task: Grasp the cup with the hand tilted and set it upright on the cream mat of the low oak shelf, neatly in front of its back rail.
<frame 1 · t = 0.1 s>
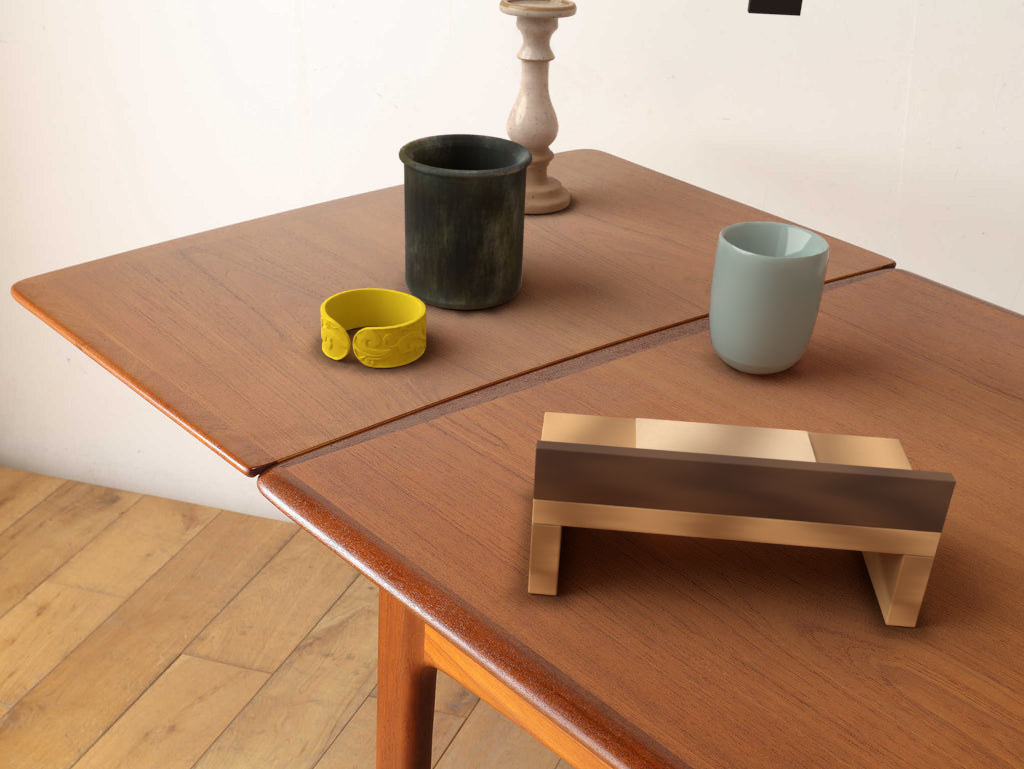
candle holder: (528, 203, 112), on the table
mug: (463, 283, 93), on the table
bracelet: (374, 348, 81), on the table
cup: (753, 365, 80), on the table
shelf: (712, 557, 59), on the table
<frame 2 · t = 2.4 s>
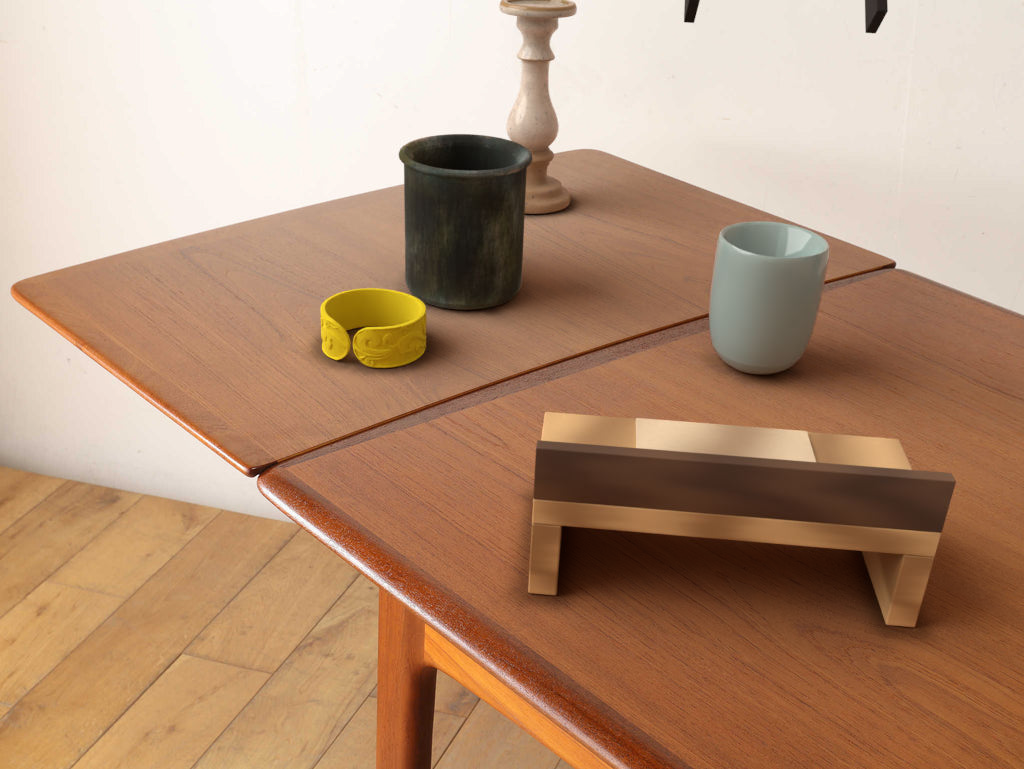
hand: (783, 17, 78), 24 cm above the table, tool tilted 45°, fingers open, 13 cm apart
nothing on the table moved.
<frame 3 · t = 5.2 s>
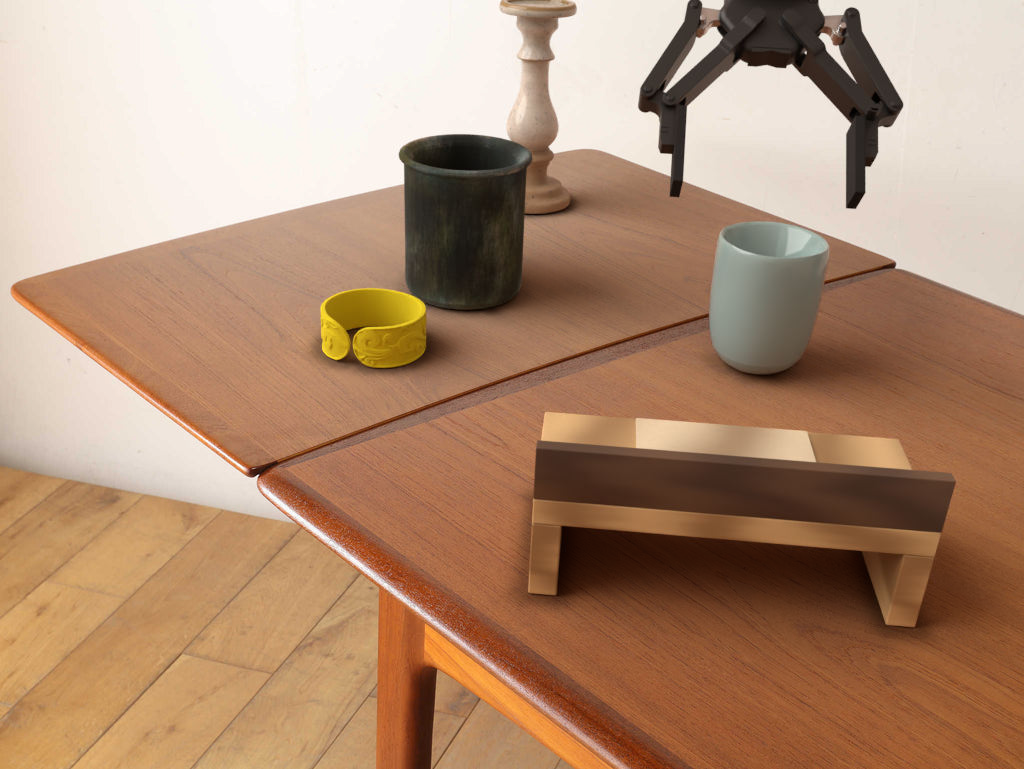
hand: (765, 195, 81), 11 cm above the table, tool tilted 45°, fingers open, 13 cm apart
nothing on the table moved.
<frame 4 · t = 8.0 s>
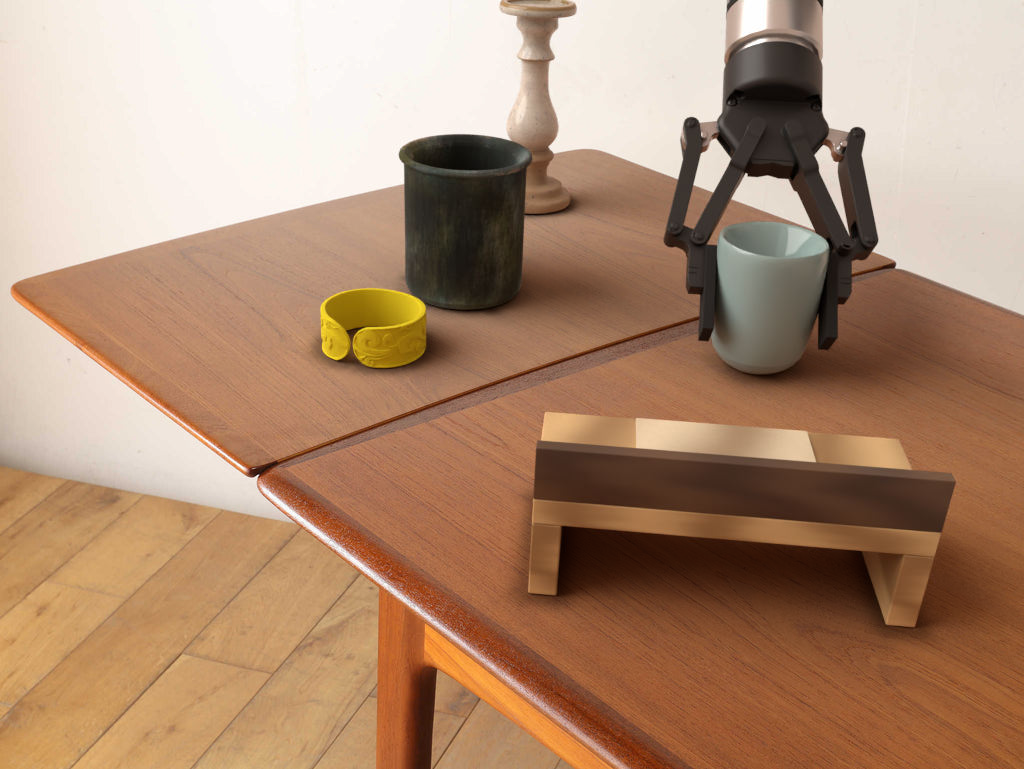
hand: (766, 339, 76), 4 cm above the table, tool tilted 45°, fingers closed on cup, 8 cm apart
cup: (753, 364, 80), on the table, touching gripper
everything else where it was.
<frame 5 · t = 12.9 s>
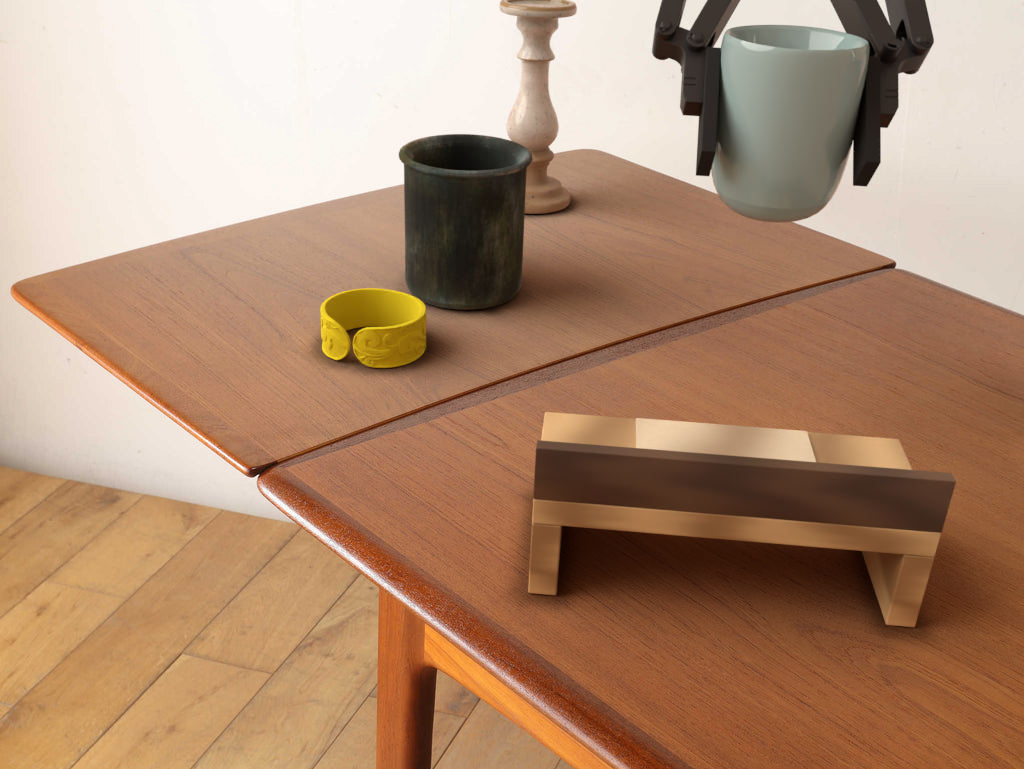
hand: (785, 168, 57), 20 cm above the table, tool tilted 45°, fingers closed on cup, 8 cm apart
cup: (768, 215, 62), point 16 cm above the table, touching gripper
everything else where it was.
when the fingers open (10 cm above the table, at t = 17.6 s): cup stays where it is, resting on shelf.
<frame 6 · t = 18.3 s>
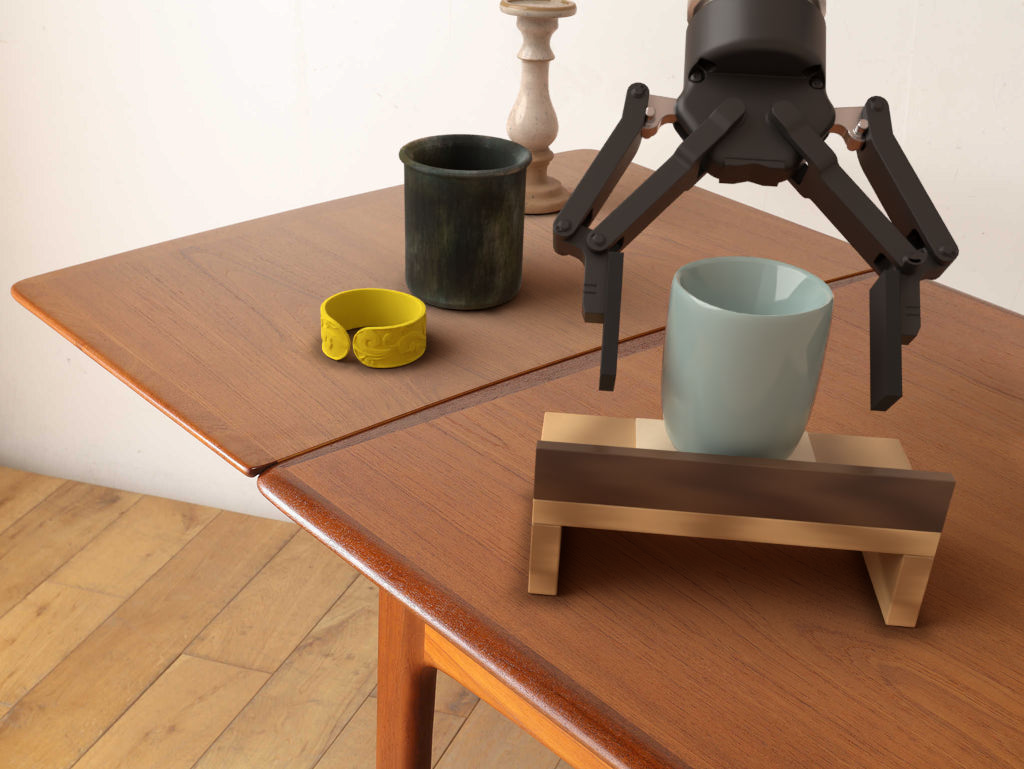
hand: (745, 394, 52), 11 cm above the table, tool tilted 45°, fingers open, 13 cm apart
cup: (725, 460, 56), point 6 cm above the table, touching shelf
everything else where it was.
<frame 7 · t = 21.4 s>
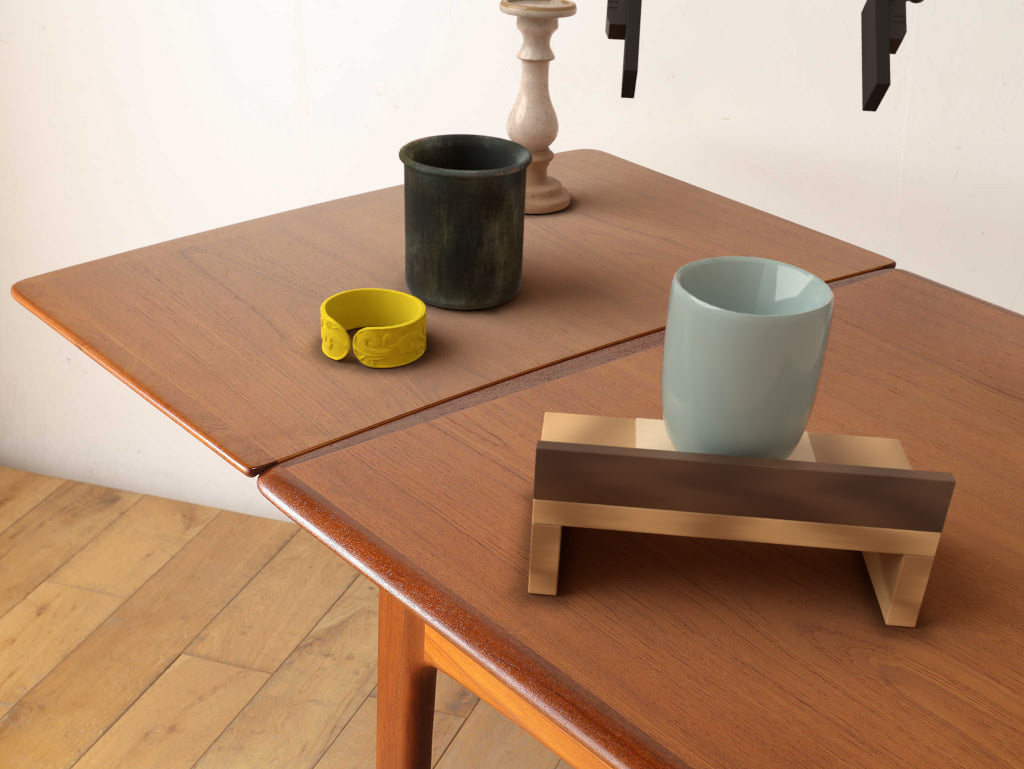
hand: (751, 92, 58), 23 cm above the table, tool tilted 45°, fingers open, 13 cm apart
nothing on the table moved.
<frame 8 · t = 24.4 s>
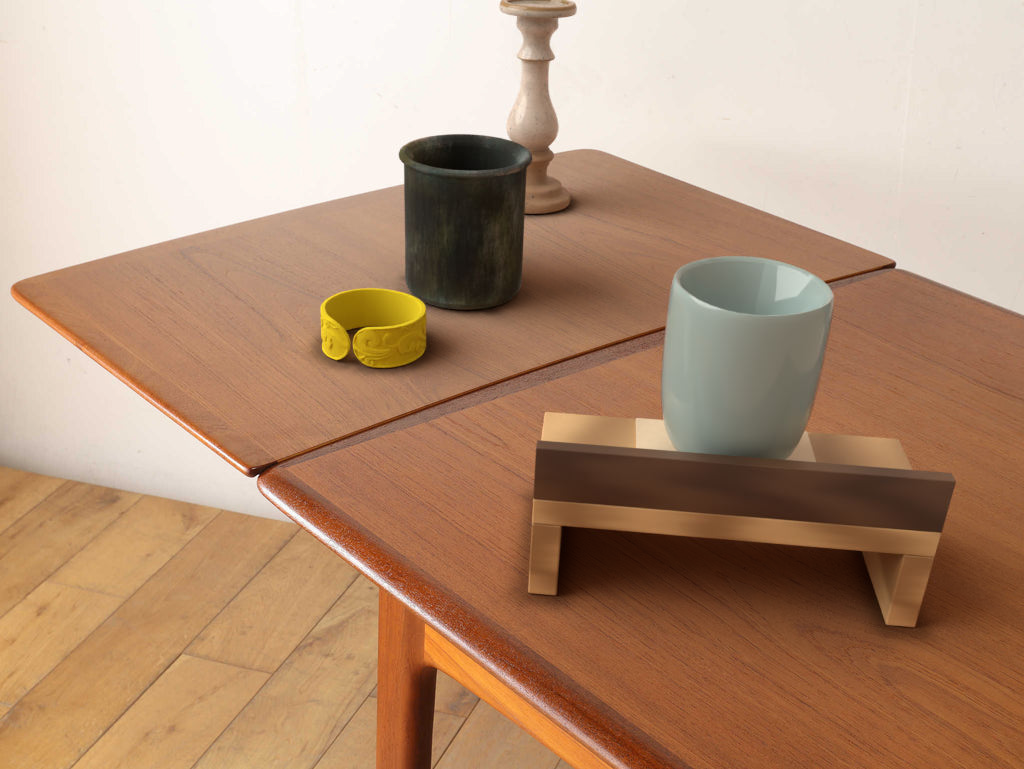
nothing on the table moved.
at the end: cup inside the target area on the shelf (0.1 cm from its centre), point 6.0 cm above the shelf's base; cup tilted 0°; the gripper is holding nothing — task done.
